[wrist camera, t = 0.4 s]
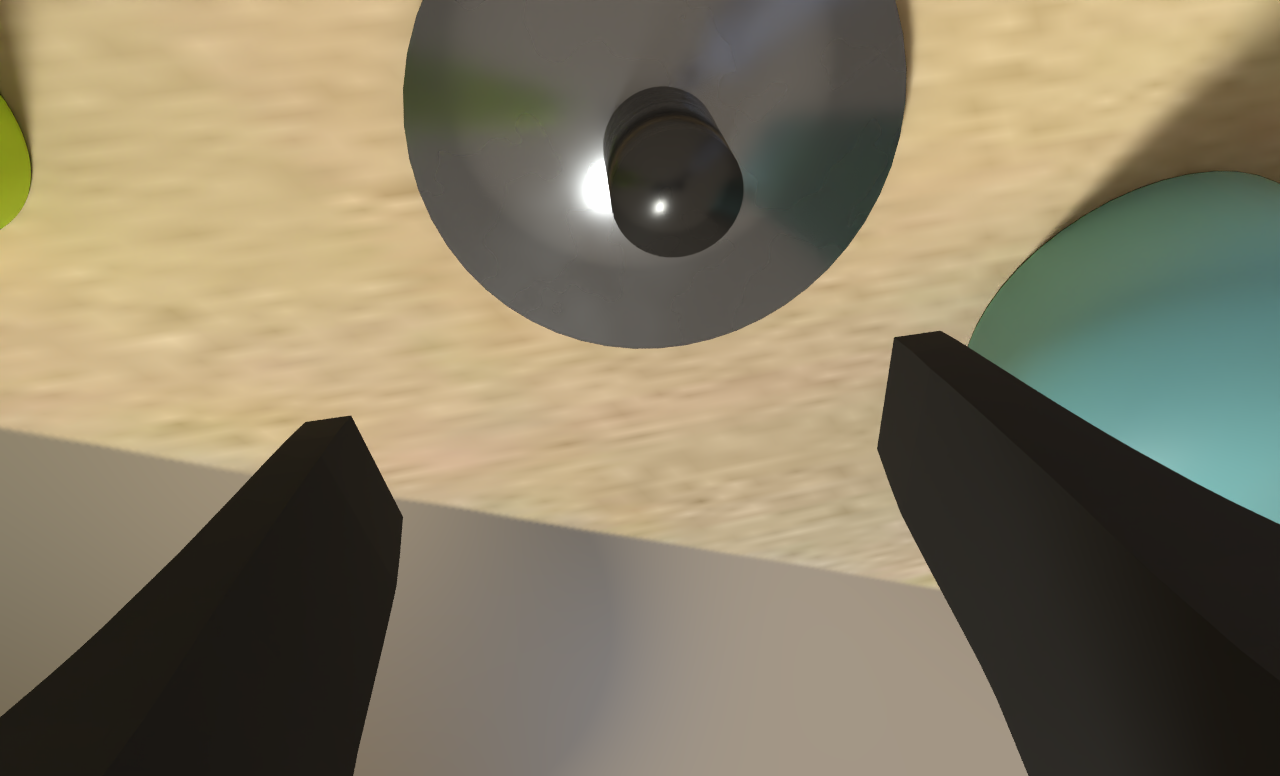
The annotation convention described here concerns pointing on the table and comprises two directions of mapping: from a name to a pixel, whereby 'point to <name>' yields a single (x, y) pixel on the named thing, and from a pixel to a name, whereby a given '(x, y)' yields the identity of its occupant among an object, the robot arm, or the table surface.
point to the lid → (651, 152)
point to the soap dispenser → (12, 166)
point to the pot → (1161, 328)
